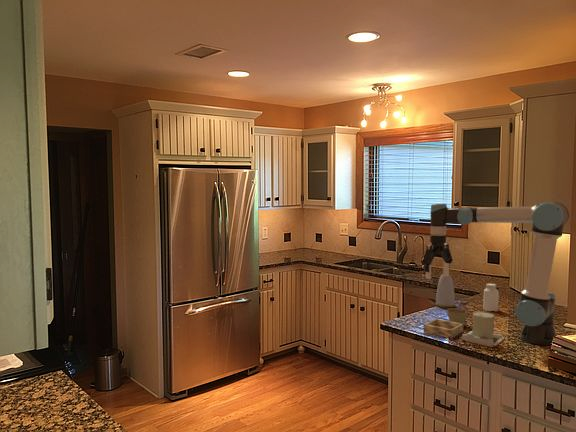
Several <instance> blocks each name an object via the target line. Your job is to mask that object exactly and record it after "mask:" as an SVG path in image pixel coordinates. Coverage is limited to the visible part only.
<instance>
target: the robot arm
mask: <svg viewBox="0 0 576 432" xmlns="http://www.w3.org/2000/svg"><path fill="white" fill-rule="evenodd" d="M569 219H570V212H569V209H568V208H567V206H566V205H565V204H564V203H562V202H558V201H546V202H541V203H540V204H539V203H538V204H537V203H536V204H535V205H534V206H487V207H486V206H481V207H473V206H469V207H468V206H467V207H448V206H447V204H446V203H432V204H431V205H430V228H429V229H430V232H429V233H430V235H429V237H430V238H429V242H430V243H431V245H430V244H427V245H426V250H425V253H424V256H423V259H422V262H421V264H422V265H423V266H424V273H425V279H427V280H431V279H432V265H431V264H432V262H433V260H434V258H435V256H437V255H438V254H440V255H441V257H442V260H443V263H444V261H445V262H446V263H444V264H443V269H444V275H443V276H449V269H450V264H452V262H454V261H453V257H452V253H451V249H450V246H449V245H450V244H449V243H447V236H446V234H447V224H455V225H470V224H472V223H489V224H490V223H498V224H500V223H501V224H502V223H504V224H505V223H509V224H511V223H513V224H514V223H515V224H517V223H519V224H532V228H531V233H532V234H533V235H534V238H533V243H532V250H531V256H530V261H529V266H528V267H529V268H528V272H527V273H528V274H527V279H526V283H525V284H526V285H525V288H524V289H523V290H521V291H520V295H519V296H520V297H519V302H518V303H517V304H516V306H515V315H516V318H517V319H518V321H520V322H521V323H522V324H523V326H522V329H521V332H520V335H519V336H520V339H521V340H522V341H524V342H526V343H529V344H533V345H540V346H552V345H551V343H552V340H553V337H554V336H557V333H556V329H555V325H554V323H555V321H554V320H555V306H556V304H555V303H556V295H555V293H553V292H551V291H549V287H550V280H551V274H552V270H553V264H554V258H555V254H556V253H555V252H556V247H557V243H558V239H559V238H561V237H562V236H563V232H564V228H565V225H566V224H567V223H568V222H569ZM557 337H558V336H557Z"/></svg>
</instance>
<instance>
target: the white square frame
mask: <svg viewBox="0 0 576 432" xmlns="http://www.w3.org/2000/svg"><path fill="white" fill-rule="evenodd" d="M461 338H462V339H461ZM460 339H461V340H462V341H463V340H465V341H464V342H468V343H472V344H478V345H481V344H482V345H481V346H486V347H491V348H492V347H493V346H494V347H496V346H498V345H499V344H500V343H502V342H503V341H504V340H505V338H504V337H503V335H502V334H499V333H494V332H493V340H491V339H488V338H487V337H482V336H481V337H477V336H474V335H473V330H470V331H468V332H467V333H462V335H461V337H460ZM494 339H497V341H495V342H494Z"/></svg>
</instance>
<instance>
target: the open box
mask: <svg viewBox="0 0 576 432" xmlns="http://www.w3.org/2000/svg"><path fill="white" fill-rule="evenodd" d="M425 332H426V334H430V333H431V334H430V335H434V334H436V335H435V336H439V335H441V336H440V337H443V336H446V337H445V338H448V337H450V338H449V339H454V338H455V337H457V336H459V335H460V334H461V332H462V333H463V332H464V323H463V324H461V323H456V322H451V321H450V320H445V319H440V318H433V319H432V320H430V321H428V322H426V323H424V324H423V333H425ZM459 333H460V334H459ZM456 335H457V336H456ZM454 336H455V337H454Z"/></svg>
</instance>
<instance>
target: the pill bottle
mask: <svg viewBox="0 0 576 432" xmlns="http://www.w3.org/2000/svg"><path fill="white" fill-rule="evenodd" d="M485 287H486V288H484V289H483V302H482V303H483V306H482V309H483V311H486V312H491V311H495V312H498V311H499V294H500V293H499V291H500V290H498V289H497V284H495V283H485Z"/></svg>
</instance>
